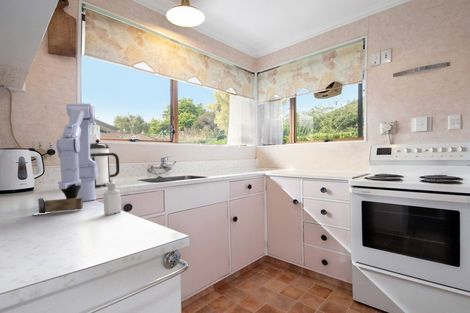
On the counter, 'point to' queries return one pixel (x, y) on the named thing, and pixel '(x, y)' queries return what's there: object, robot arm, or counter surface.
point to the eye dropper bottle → (112, 199)
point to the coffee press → (102, 162)
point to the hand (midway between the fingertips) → (72, 204)
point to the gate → (63, 204)
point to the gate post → (42, 205)
